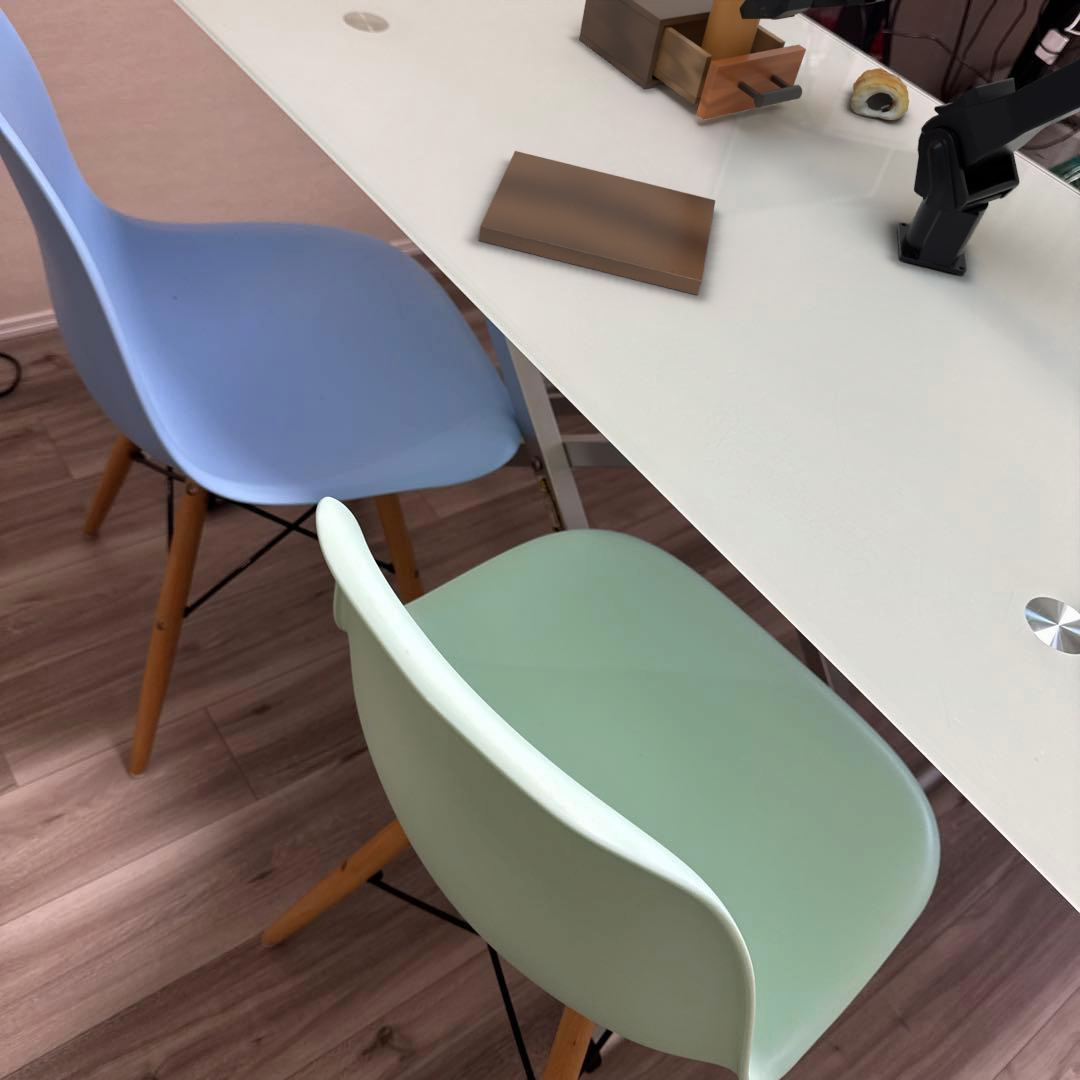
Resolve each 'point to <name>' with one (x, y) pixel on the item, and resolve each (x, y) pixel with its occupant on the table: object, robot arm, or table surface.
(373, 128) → the table surface
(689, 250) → the board
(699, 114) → the drawer
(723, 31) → the dome-topped orange cylinder
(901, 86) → the pastry
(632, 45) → the cabinet
